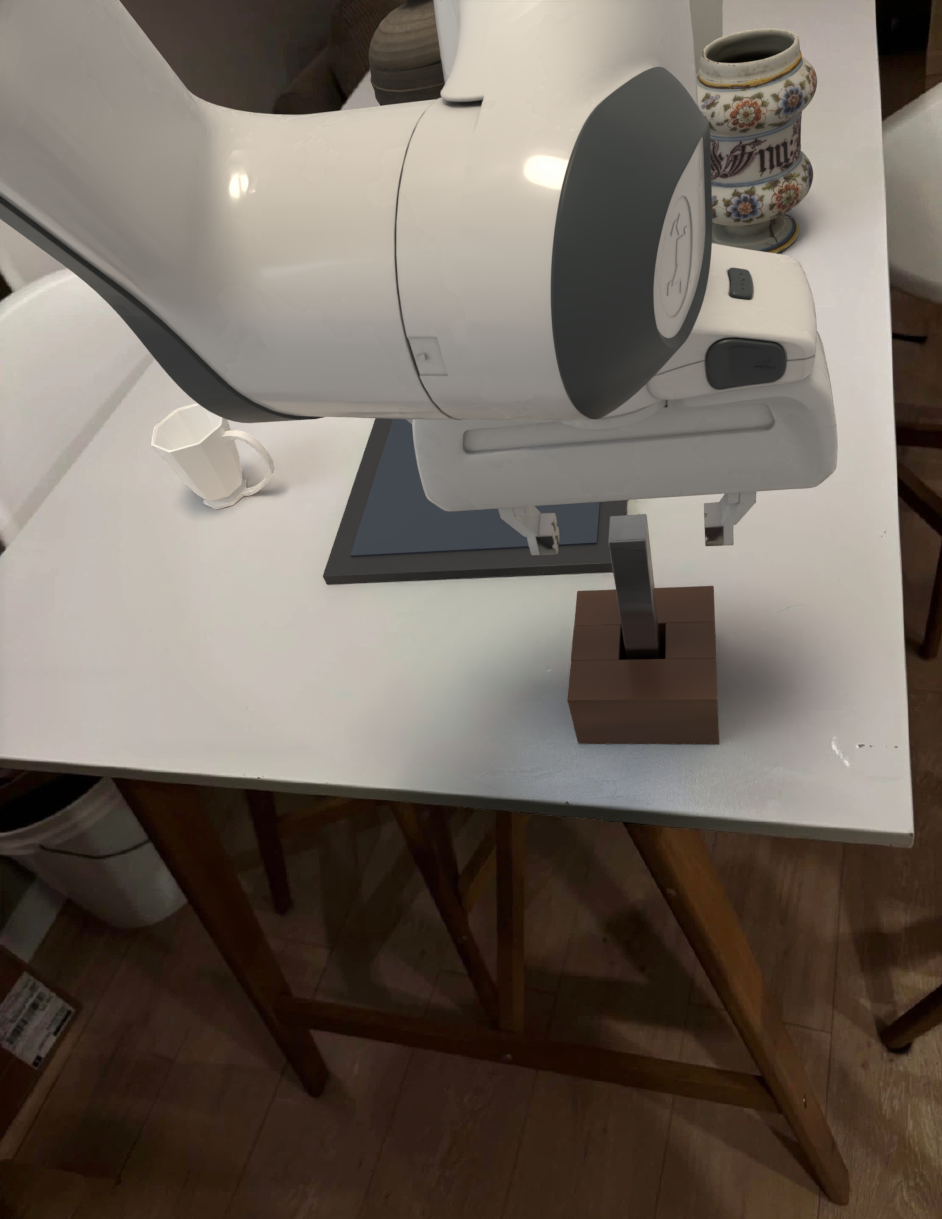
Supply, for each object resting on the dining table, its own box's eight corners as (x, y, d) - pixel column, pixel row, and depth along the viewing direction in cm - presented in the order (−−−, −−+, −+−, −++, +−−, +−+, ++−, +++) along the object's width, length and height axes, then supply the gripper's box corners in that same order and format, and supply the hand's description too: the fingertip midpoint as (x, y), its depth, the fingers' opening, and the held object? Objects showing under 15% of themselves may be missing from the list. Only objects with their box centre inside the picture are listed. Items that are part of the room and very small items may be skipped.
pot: (402, 117, 134) (372, -41, 118) (519, 109, 130) (504, -55, 114) (371, 176, 123) (334, 12, 108) (498, 170, 119) (478, -2, 104)
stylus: (663, 699, 58) (646, 539, 47) (632, 699, 59) (608, 541, 48) (664, 674, 59) (646, 513, 48) (633, 675, 60) (609, 515, 49)
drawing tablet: (623, 571, 66) (622, 560, 65) (326, 584, 72) (321, 574, 72) (638, 282, 91) (637, 271, 90) (416, 310, 97) (413, 300, 97)
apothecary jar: (814, 203, 93) (826, 8, 80) (804, 266, 86) (816, 63, 73) (696, 212, 98) (689, 28, 84) (678, 271, 91) (668, 81, 77)
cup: (209, 468, 87) (170, 401, 81) (300, 467, 84) (266, 397, 78) (178, 519, 83) (135, 452, 77) (272, 520, 79) (234, 450, 73)
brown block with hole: (719, 744, 55) (717, 699, 51) (577, 744, 57) (566, 700, 54) (715, 633, 61) (713, 585, 57) (586, 636, 63) (577, 590, 59)
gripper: (364, 392, 40) (441, 593, 50) (858, 340, 34) (831, 577, 45) (392, 312, 44) (458, 513, 54) (839, 254, 38) (818, 490, 48)
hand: (630, 542), depth 49 cm, fingers open, 8 cm apart
